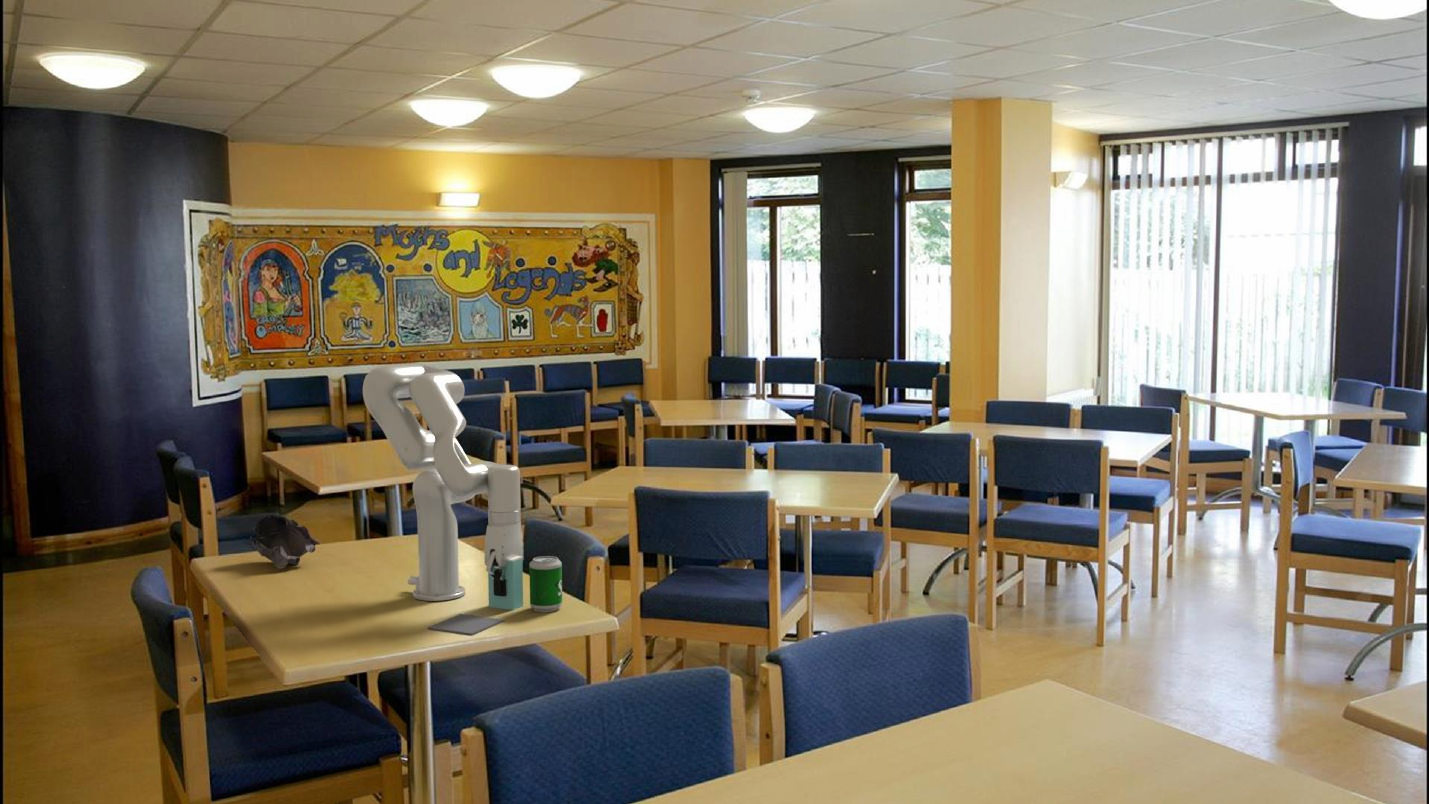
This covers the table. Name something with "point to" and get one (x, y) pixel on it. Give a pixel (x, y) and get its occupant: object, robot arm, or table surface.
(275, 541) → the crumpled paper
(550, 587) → the soda can
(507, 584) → the teal block
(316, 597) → the table surface
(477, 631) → the rubber mat
